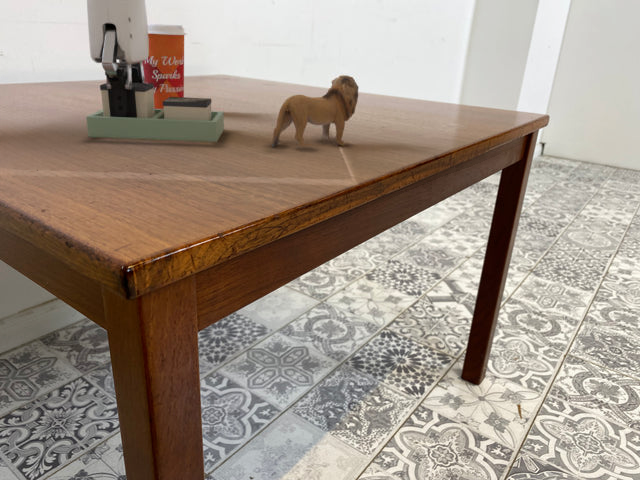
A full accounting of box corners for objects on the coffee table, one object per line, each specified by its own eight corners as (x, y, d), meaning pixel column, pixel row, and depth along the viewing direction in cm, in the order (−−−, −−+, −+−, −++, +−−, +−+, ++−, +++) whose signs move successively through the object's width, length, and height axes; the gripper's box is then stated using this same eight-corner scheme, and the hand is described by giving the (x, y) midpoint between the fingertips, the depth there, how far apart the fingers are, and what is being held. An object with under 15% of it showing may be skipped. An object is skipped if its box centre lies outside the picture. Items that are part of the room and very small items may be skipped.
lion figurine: (337, 136, 77) (341, 73, 74) (364, 142, 74) (370, 76, 70) (259, 147, 68) (259, 75, 64) (286, 155, 64) (288, 80, 61)
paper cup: (145, 119, 82) (137, 23, 77) (139, 111, 89) (132, 22, 83) (194, 118, 85) (191, 26, 80) (185, 110, 92) (181, 25, 86)
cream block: (103, 121, 67) (99, 85, 66) (114, 115, 71) (110, 81, 70) (147, 123, 68) (145, 87, 66) (155, 117, 72) (153, 83, 70)
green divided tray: (216, 145, 67) (216, 121, 66) (89, 141, 66) (86, 116, 65) (224, 133, 75) (223, 111, 74) (109, 128, 74) (107, 106, 73)
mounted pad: (164, 136, 68) (162, 101, 67) (171, 129, 73) (169, 96, 71) (207, 137, 69) (206, 103, 67) (212, 131, 73) (211, 98, 71)
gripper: (107, -31, 70) (119, 107, 77) (55, -47, 54) (77, 128, 61) (163, -28, 71) (171, 109, 78) (128, -43, 55) (142, 131, 62)
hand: (129, 116), depth 69 cm, fingers closed on cream block, 4 cm apart
